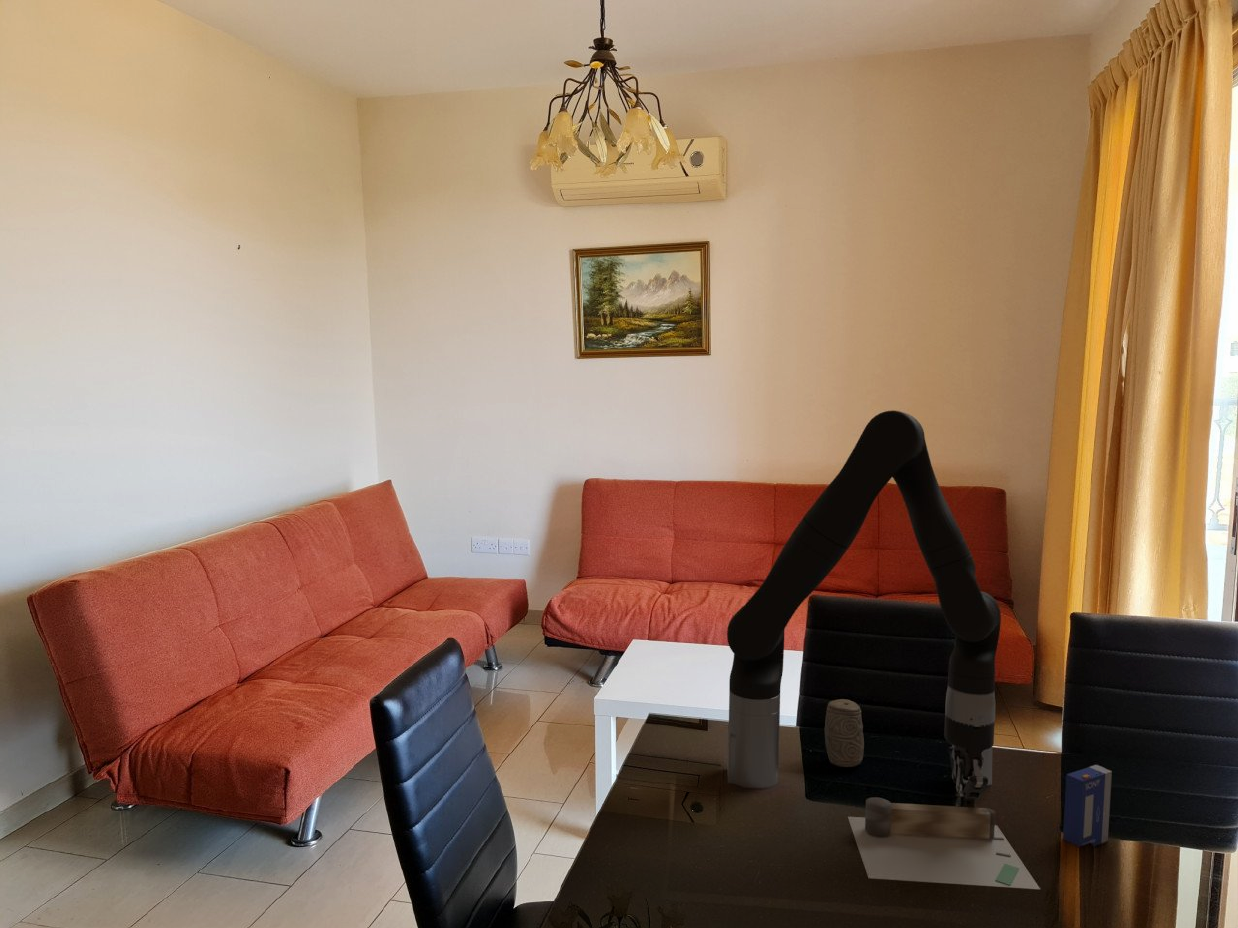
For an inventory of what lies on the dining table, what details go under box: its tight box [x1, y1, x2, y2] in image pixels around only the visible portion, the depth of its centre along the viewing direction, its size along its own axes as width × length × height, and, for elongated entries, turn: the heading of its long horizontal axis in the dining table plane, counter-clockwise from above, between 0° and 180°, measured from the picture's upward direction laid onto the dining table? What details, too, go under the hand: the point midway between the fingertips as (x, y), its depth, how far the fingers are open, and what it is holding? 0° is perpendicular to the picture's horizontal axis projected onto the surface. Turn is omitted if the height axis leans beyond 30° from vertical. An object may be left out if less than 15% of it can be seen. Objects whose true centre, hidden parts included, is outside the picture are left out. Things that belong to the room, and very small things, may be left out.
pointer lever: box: [864, 797, 996, 839], centre depth 134 cm, size 20×4×4 cm, turn 84°
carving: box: [824, 698, 865, 768], centre depth 162 cm, size 6×8×12 cm
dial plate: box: [847, 816, 1041, 891], centre depth 130 cm, size 24×18×1 cm
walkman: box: [1062, 764, 1113, 848], centre depth 134 cm, size 8×3×12 cm, turn 118°
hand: (965, 815), depth 138 cm, fingers closed
